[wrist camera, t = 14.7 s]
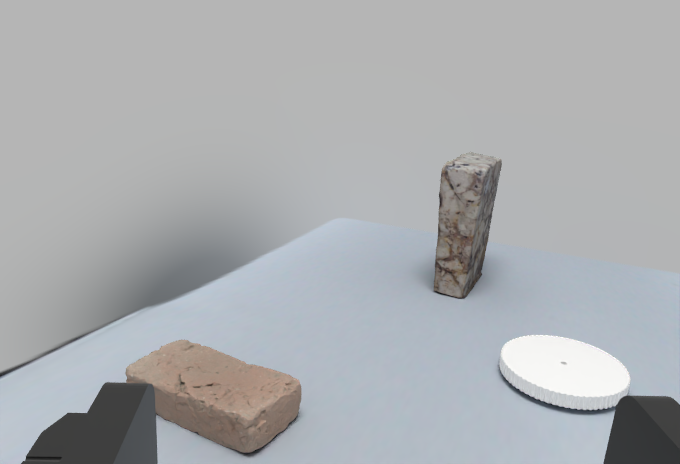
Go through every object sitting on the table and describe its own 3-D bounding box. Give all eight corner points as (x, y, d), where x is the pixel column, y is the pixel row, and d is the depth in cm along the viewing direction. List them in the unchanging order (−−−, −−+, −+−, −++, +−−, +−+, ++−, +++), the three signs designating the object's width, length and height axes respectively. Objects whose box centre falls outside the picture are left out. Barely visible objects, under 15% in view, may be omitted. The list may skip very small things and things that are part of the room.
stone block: (474, 302, 91) (491, 169, 85) (427, 293, 94) (441, 162, 88) (487, 273, 103) (503, 154, 97) (445, 266, 106) (459, 149, 99)
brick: (121, 403, 63) (118, 362, 61) (180, 369, 70) (179, 331, 68) (251, 465, 55) (252, 420, 54) (303, 419, 62) (305, 378, 61)
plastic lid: (542, 342, 81) (545, 325, 80) (649, 391, 71) (653, 372, 70) (473, 373, 72) (475, 354, 72) (583, 434, 62) (587, 412, 61)
